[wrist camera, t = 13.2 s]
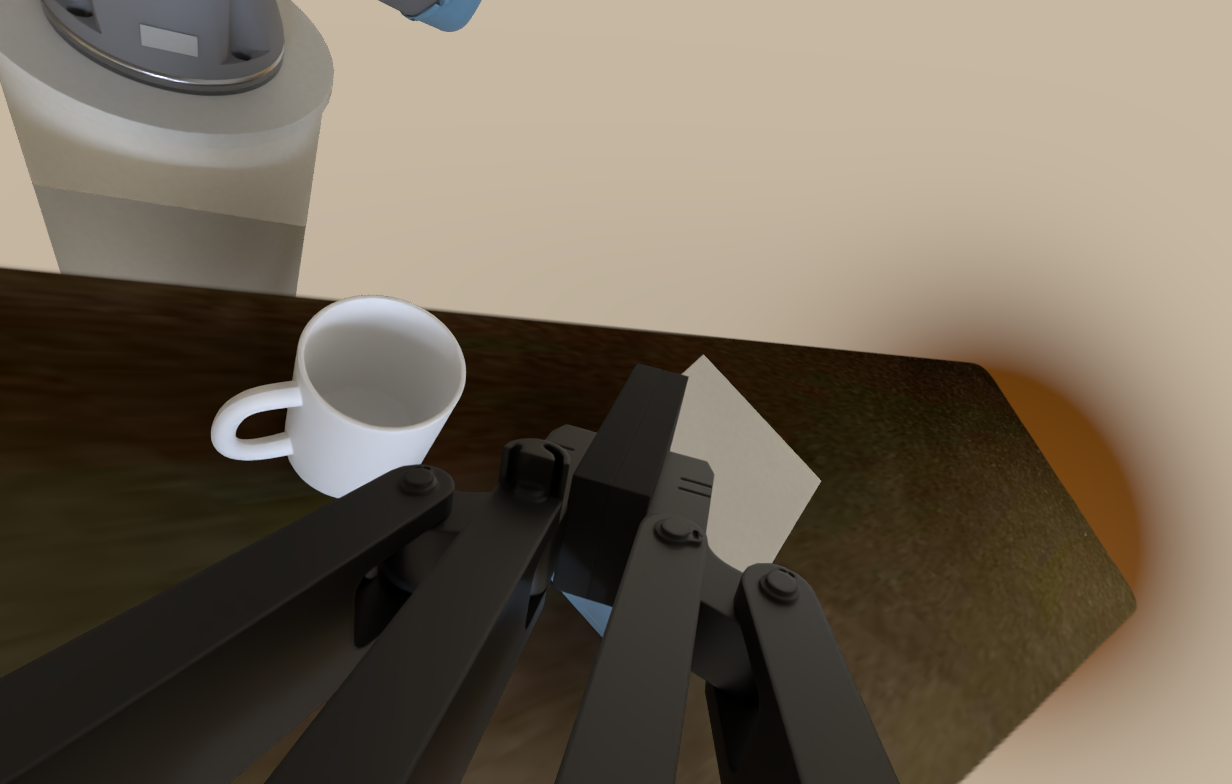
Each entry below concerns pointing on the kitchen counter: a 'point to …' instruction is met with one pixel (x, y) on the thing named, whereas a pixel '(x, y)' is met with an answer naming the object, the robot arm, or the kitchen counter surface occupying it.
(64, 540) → the kitchen counter surface
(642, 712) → the robot arm
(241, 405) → the cup
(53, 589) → the kitchen counter surface
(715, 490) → the case lid
